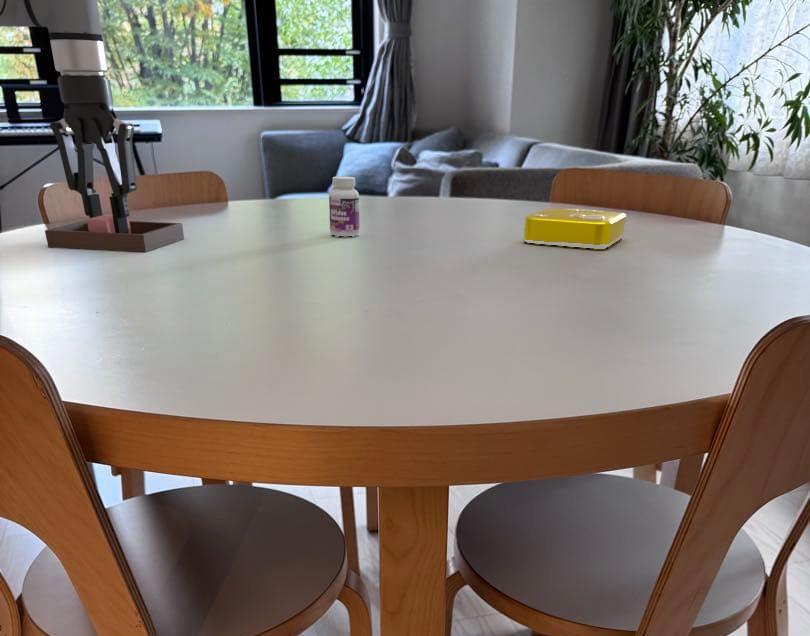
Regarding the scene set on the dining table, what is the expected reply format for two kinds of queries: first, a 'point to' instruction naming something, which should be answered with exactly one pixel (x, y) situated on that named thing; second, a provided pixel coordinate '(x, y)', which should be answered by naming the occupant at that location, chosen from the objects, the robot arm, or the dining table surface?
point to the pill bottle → (344, 207)
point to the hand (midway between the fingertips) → (111, 237)
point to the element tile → (574, 226)
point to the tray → (116, 237)
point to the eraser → (104, 224)
